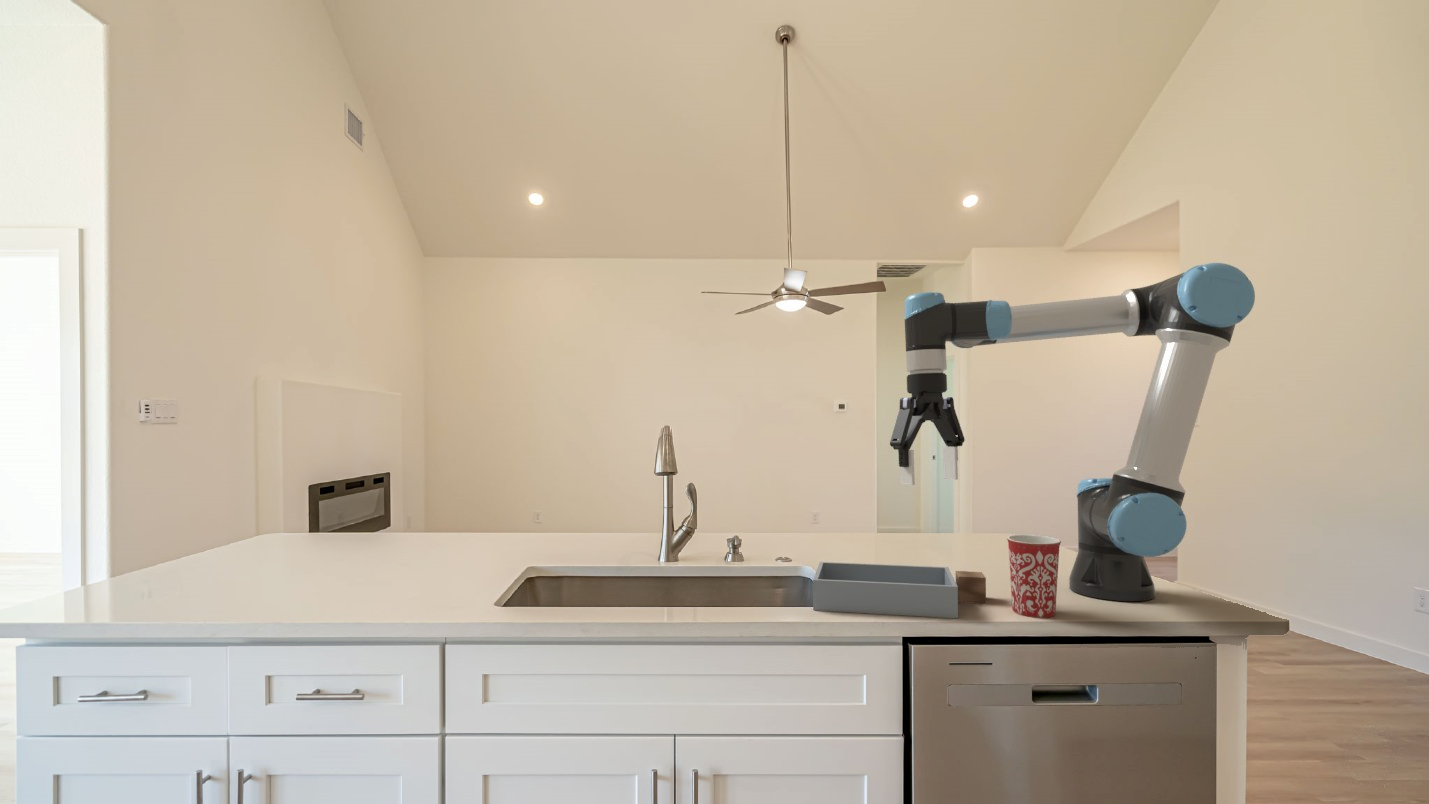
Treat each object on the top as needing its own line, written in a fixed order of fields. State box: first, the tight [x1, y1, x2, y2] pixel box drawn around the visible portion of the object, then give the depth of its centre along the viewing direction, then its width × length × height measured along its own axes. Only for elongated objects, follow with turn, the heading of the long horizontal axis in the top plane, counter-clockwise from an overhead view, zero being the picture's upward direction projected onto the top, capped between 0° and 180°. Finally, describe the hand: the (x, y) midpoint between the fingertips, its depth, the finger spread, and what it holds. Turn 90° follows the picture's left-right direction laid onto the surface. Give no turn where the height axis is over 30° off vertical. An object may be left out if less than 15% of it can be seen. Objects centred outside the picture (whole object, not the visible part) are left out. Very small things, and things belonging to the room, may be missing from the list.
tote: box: [812, 561, 959, 619], centre depth 137 cm, size 26×17×6 cm, turn 77°
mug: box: [1006, 534, 1062, 619], centre depth 132 cm, size 13×9×14 cm
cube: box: [955, 570, 987, 604], centre depth 139 cm, size 5×5×5 cm
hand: (929, 481), depth 138 cm, fingers open, 13 cm apart
